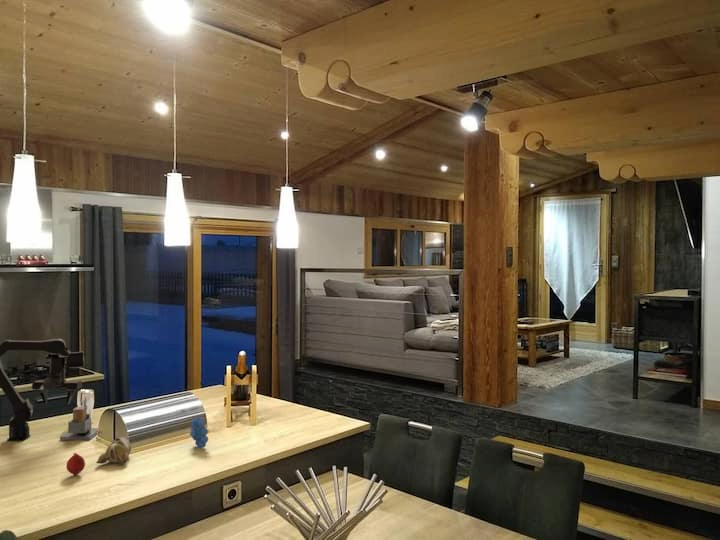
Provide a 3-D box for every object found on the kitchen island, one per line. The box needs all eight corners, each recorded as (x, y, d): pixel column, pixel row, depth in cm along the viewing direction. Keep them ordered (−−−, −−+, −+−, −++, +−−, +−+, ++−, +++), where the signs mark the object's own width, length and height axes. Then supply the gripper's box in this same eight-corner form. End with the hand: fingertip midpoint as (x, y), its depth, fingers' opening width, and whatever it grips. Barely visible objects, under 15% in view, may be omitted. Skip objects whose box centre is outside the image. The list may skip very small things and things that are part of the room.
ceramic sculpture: (137, 431, 225) (124, 446, 210) (138, 453, 226) (124, 469, 211) (109, 432, 225) (94, 447, 210) (110, 453, 225) (94, 470, 211)
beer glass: (77, 422, 266) (77, 390, 266) (93, 420, 269) (94, 388, 269) (76, 426, 260) (77, 393, 260) (94, 424, 263) (94, 392, 262)
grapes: (182, 445, 237) (182, 416, 236) (197, 441, 241) (198, 413, 241) (196, 452, 228) (196, 422, 228) (212, 448, 233) (212, 419, 233)
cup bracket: (60, 440, 241) (60, 420, 240) (72, 431, 252) (72, 412, 252) (89, 440, 241) (89, 419, 241) (100, 431, 253) (100, 412, 253)
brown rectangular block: (72, 430, 244) (72, 409, 243) (76, 427, 248) (76, 407, 248) (82, 430, 244) (83, 409, 244) (86, 427, 248) (86, 406, 248)
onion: (80, 470, 207) (80, 448, 207) (87, 474, 204) (88, 452, 204) (63, 475, 203) (63, 452, 203) (71, 479, 199) (71, 456, 199)
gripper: (25, 371, 239) (24, 409, 239) (71, 372, 240) (70, 410, 240) (38, 366, 250) (37, 402, 250) (82, 367, 251) (82, 403, 251)
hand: (56, 404), depth 248 cm, fingers open, 9 cm apart
